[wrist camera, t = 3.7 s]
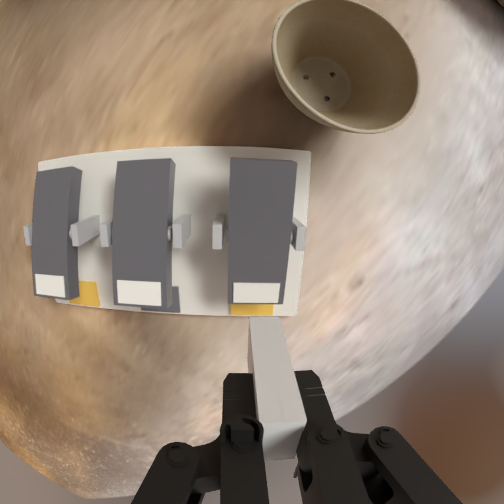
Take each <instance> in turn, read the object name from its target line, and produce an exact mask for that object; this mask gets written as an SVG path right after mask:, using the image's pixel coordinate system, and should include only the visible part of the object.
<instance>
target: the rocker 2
mask: <svg viewBox="0 0 504 504" xmlns="http://www.w3.org/2000/svg"><path fill="white" fill-rule="evenodd" d="M175 168H176V164H175V163H174V161H173V160H172V159H171V158H162V159H142V160H127V161H117V168H116V178H115V189H114V203H113V223H112V280H113V300H114V305H119V306H131V307H144V308H159V309H168V308H169V307H170V306H171V304H172V241H173V229H172V223H173V199H174V182H175Z"/></svg>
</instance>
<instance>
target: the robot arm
mask: <svg viewBox="0 0 504 504" xmlns="http://www.w3.org/2000/svg"><path fill="white" fill-rule="evenodd" d="M248 372H249V373H229V374H228V375H227V377H226V378H225V380H224V381H223V411H222V424H221V428H220V435H219V437H218V438H217V439H216V440H214V441H213V442H211V443H208V444H205V445H200V446H195V447H192V446H191V445H188V444H186V443H182V442H173V443H169V444H167V445H165V446H163V447H162V448H161V450H160V451H159V452H158V454H157V456H156V458H155V460H154V462H153V463H152V465H151V467H150V469H149V471H148V473H147V475H146V477H145V478H144V480H143V482H142V484H141V486H140V488H139V490H138V491H137V493H136V495H135V497H134V499H133V501H132V503H131V504H201V503H202V500H203V497H204V495H205V493H206V492H211V491H215V490H219V489H220V504H269V498H268V489H267V481H266V472H265V463H264V461H267V460H268V461H269V460H282V459H294V458H295V455H296V453H297V457H298V465H297V467H296V469H295V472H294V478H296V477H297V475H298V480H299V486H300V490H301V496H302V502H303V504H462V503H461V501H460V500H459V499H458V498H457V497H456V496H455V495H454V494H453V493H452V492H451V491H450V489H449V488H448V487H447V486H446V485H445V484H444V483H443V481H442V480H441V479H440V478H439V477H438V476H437V475H436V474H435V473H434V471H433V470H432V469H431V468H430V467H429V466H428V465H427V464H426V462H424V460H423V459H422V458H421V457H420V456H419V455H418V454H417V452H416V451H415V450H414V449H413V448H412V447H411V446H410V444H409V443H408V442H407V441H406V440H405V439H404V438H403V437H402V435H401V434H400V433H399V432H398V431H396V430H395V429H394V428H391V427H384V426H382V427H378V428H375V429H374V430H373V431H372V432H371V433H370V434H358V433H351V432H347V431H345V430H343V428H342V427H340V426H339V425H337V424H336V422H335V420H334V417H333V414H332V412H331V409H330V406H329V403H328V400H327V398H326V395H325V392H324V389H323V388H322V384H321V381H320V378H319V377H318V376H317V375H316V374H315V373H314V372H313V371H312V370H306V371H294V369H293V366H292V362H291V358H290V355H289V351H288V347H287V344H286V340H285V336H284V333H283V329H282V325H281V322H280V318H279V317H249V336H248Z"/></svg>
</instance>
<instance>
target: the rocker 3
mask: <svg viewBox="0 0 504 504" xmlns="http://www.w3.org/2000/svg"><path fill="white" fill-rule="evenodd" d="M296 174H297V162H295V161H292V160H279V159H261V158H234V157H231V158H230V181H229V223H228V227H226V229H225V242H228V304H283V300H284V292H285V284H286V276H287V267H288V258H289V249H290V243H292V239H293V231H292V220H293V209H294V198H295V187H296Z"/></svg>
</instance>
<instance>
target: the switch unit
mask: <svg viewBox="0 0 504 504" xmlns="http://www.w3.org/2000/svg"><path fill="white" fill-rule="evenodd" d="M231 157H234V158H261V159H279V160H292V161H295V162H297V174H296V187H295V198H294V209H293V220H292V231H293V239H292V243H290V249H289V258H288V267H287V276H286V284H285V292H284V300H283V304H228V242H225V229H226V227H228V223H229V181H230V158H231ZM162 158H171V159H172V160H173V161H174V163H175V164H176V168H175V182H174V199H173V223H172V229H173V241H172V304H171V306H170V307H169V308H168V309H159V308H144V307H131V306H119V305H114V300H113V280H112V223H113V203H114V189H115V178H116V168H117V161H127V160H142V159H162ZM70 166H73V167H76V168H78V169H80V170H82V179H81V189H80V201H79V218H78V222H76V223H74V224H71V225H70V226H71V236H72V244H73V246H78V278H79V294H80V296H79V297H77V298H74V299H72V300H63V299H55V300H56V303H64V304H71V305H79V306H88V307H96V308H106V309H116V310H127V311H139V312H153V313H169V314H188V315H215V316H297V308H298V300H299V292H300V283H301V275H302V265H303V256H304V249H305V239H306V228H307V227H306V224H307V211H308V198H309V184H310V167H311V151H304V150H293V149H280V148H264V147H241V146H178V147H155V148H140V149H127V150H117V151H107V152H98V153H90V154H83V155H76V156H69V157H63V158H57V159H52V160H46V161H41V162H38V171H44V170H50V169H56V168H63V167H70ZM23 228H24V236H25V242H26V245H27V246H31V245H32V223H31V224H28V225H26V226H23Z"/></svg>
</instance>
